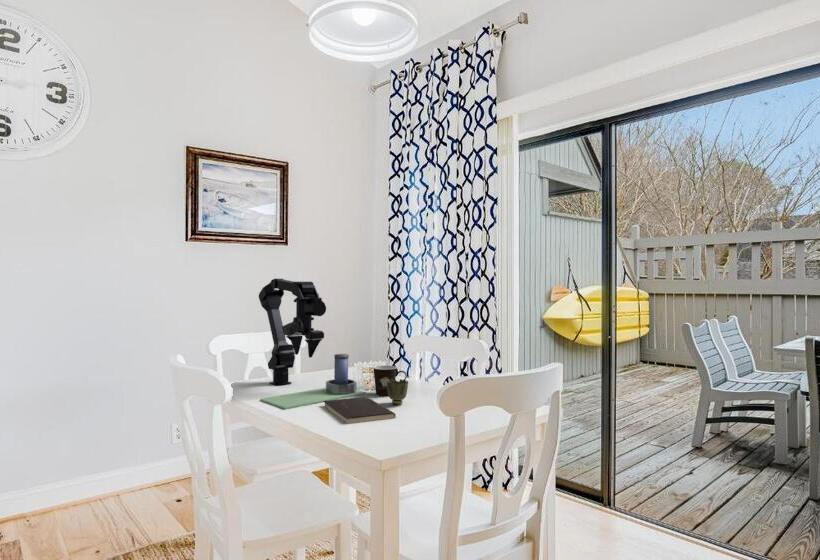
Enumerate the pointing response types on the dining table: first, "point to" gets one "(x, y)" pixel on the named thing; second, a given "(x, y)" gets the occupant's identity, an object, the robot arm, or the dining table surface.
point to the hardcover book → (358, 410)
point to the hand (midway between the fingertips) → (303, 355)
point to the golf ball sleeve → (341, 369)
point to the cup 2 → (397, 390)
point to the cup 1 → (341, 387)
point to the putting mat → (305, 398)
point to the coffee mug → (384, 378)
